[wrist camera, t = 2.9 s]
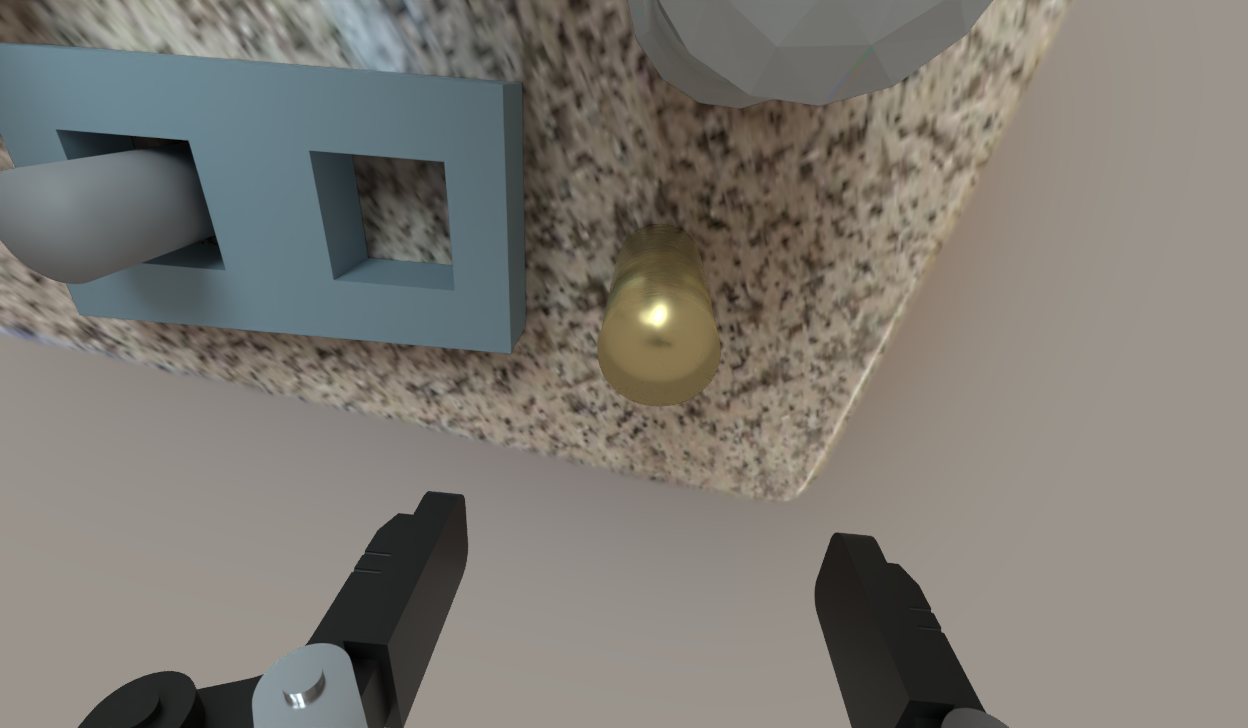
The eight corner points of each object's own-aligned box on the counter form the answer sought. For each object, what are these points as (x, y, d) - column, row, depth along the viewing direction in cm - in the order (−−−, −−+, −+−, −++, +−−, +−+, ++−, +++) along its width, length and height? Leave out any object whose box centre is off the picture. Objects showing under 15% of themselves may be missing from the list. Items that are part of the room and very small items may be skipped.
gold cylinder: (619, 220, 27) (600, 291, 19) (707, 227, 27) (730, 302, 18) (614, 302, 29) (594, 400, 21) (695, 309, 29) (711, 411, 21)
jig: (45, 44, 25) (-195, 33, 18) (522, 82, 25) (467, 87, 18) (137, 290, 31) (-17, 355, 24) (525, 324, 30) (485, 401, 23)
